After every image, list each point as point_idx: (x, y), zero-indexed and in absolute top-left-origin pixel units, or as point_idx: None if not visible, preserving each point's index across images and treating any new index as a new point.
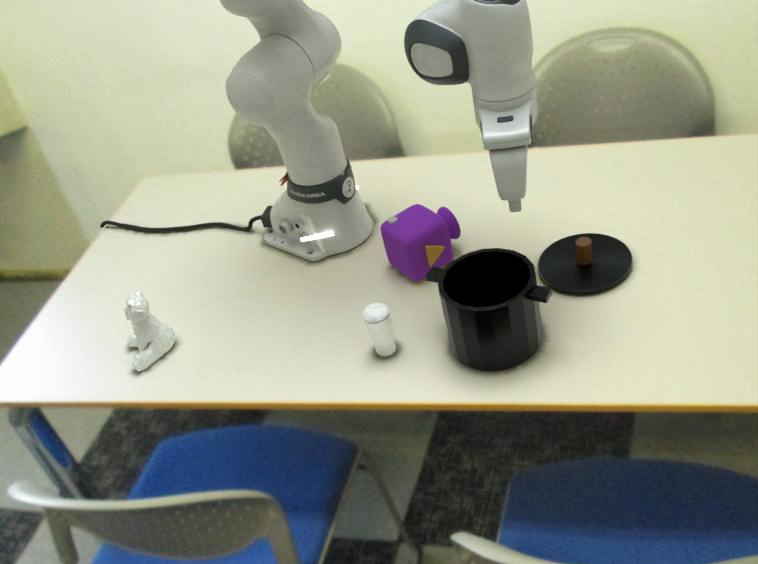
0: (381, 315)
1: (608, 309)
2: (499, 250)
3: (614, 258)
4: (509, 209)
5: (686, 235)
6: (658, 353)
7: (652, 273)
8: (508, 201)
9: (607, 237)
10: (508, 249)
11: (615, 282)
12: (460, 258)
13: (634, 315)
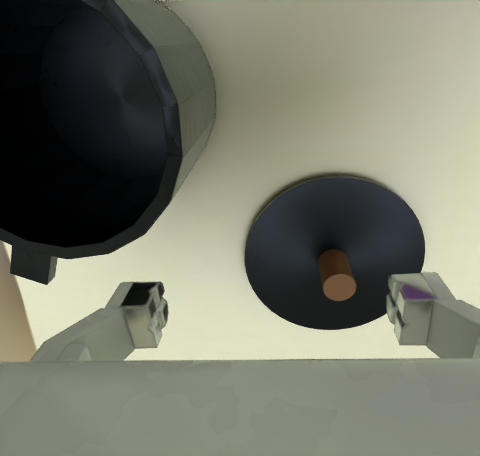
0: None
1: (210, 284)
2: (168, 162)
3: (328, 306)
4: (119, 286)
5: None
6: None
7: (293, 344)
8: (90, 316)
9: None
10: (173, 188)
11: (264, 303)
12: (124, 27)
13: (195, 316)
